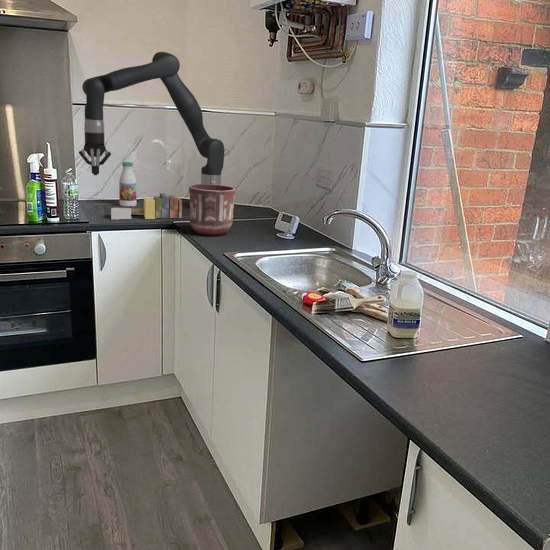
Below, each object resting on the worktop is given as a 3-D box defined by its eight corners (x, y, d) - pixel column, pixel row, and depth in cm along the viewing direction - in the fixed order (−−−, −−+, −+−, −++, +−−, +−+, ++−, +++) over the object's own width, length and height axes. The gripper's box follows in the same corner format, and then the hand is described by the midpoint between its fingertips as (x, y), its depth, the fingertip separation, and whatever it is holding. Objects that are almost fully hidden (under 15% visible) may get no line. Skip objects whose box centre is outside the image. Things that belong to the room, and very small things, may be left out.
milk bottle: (118, 204, 269) (117, 161, 263) (134, 203, 272) (134, 161, 266) (121, 207, 262) (120, 163, 256) (138, 206, 265) (137, 163, 260)
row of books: (180, 215, 253) (180, 192, 250) (184, 218, 246) (184, 195, 243) (110, 215, 243) (110, 192, 240) (112, 219, 236) (111, 195, 233)
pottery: (196, 238, 213) (198, 190, 208) (182, 228, 228) (183, 183, 223) (240, 237, 221) (242, 190, 216) (223, 227, 236) (225, 183, 231)
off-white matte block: (131, 217, 243) (131, 208, 242) (131, 220, 238) (131, 210, 237) (111, 217, 242) (111, 207, 240) (111, 219, 236) (111, 210, 235)
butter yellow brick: (153, 217, 246) (153, 198, 243) (154, 219, 241) (155, 200, 239) (143, 217, 244) (143, 198, 242) (145, 219, 240) (145, 200, 237)
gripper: (77, 131, 220) (78, 176, 225) (112, 132, 225) (113, 176, 230) (76, 129, 227) (77, 173, 232) (110, 131, 232) (111, 174, 237)
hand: (95, 175), depth 231 cm, fingers closed
